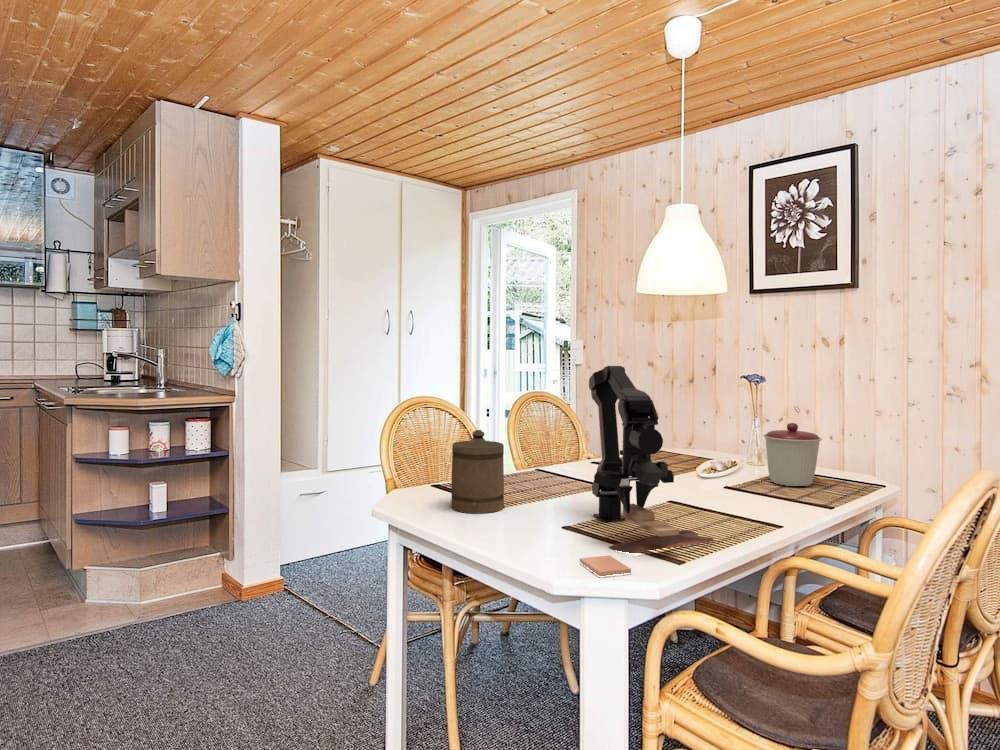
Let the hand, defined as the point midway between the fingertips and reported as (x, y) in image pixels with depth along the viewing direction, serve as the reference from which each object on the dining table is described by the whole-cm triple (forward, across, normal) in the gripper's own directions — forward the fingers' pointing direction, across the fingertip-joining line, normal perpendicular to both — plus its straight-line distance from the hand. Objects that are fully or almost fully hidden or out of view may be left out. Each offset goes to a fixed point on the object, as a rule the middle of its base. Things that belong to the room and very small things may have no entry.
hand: (633, 512), depth 154 cm
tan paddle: (+2, 0, -6) cm, 6 cm away
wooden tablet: (+7, +4, -6) cm, 10 cm away
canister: (+7, +86, +39) cm, 95 cm away
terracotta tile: (+6, -17, -12) cm, 22 cm away
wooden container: (+7, -26, +40) cm, 48 cm away
